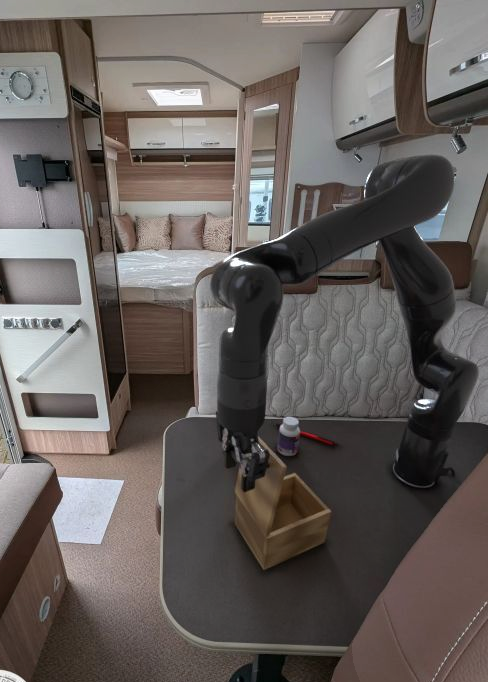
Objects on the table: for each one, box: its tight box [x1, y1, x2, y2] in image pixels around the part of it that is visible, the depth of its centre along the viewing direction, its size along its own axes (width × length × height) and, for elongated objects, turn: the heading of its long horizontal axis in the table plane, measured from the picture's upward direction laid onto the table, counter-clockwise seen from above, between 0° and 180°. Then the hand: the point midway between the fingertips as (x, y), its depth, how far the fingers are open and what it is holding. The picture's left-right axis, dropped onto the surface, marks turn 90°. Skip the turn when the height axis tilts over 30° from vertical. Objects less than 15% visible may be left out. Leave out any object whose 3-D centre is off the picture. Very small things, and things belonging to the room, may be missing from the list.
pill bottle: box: [276, 416, 301, 457], centre depth 97 cm, size 5×5×10 cm
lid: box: [230, 435, 288, 537], centre depth 65 cm, size 15×12×6 cm
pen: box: [274, 423, 339, 447], centre depth 105 cm, size 1×19×1 cm, turn 59°
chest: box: [234, 472, 332, 571], centre depth 74 cm, size 15×12×9 cm
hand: (238, 477), depth 63 cm, fingers closed on lid, 5 cm apart
